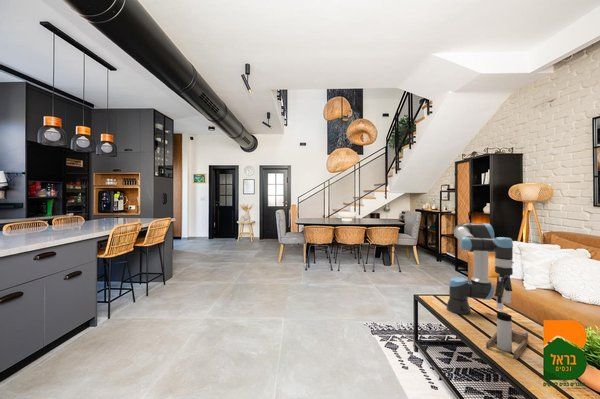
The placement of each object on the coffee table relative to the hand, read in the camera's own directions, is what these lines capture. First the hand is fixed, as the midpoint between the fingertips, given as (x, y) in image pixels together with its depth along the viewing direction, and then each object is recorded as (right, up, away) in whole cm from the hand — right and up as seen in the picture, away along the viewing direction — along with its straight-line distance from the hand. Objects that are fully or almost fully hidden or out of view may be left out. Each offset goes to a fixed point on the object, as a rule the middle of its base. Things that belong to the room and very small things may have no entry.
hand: (503, 305), depth 140 cm
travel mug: (0, -24, -1) cm, 24 cm away
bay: (+6, -24, +5) cm, 25 cm away
